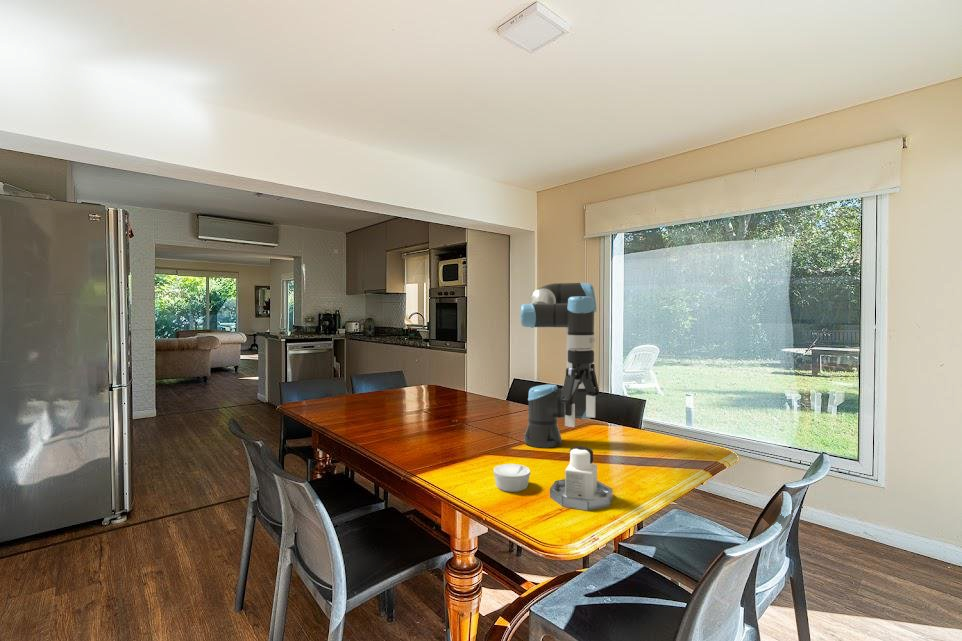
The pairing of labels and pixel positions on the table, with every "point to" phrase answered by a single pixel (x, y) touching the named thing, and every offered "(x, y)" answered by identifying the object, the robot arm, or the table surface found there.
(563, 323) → the robot arm
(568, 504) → the grey octagonal shallow tray
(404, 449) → the table surface
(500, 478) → the ramekin
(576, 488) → the container
